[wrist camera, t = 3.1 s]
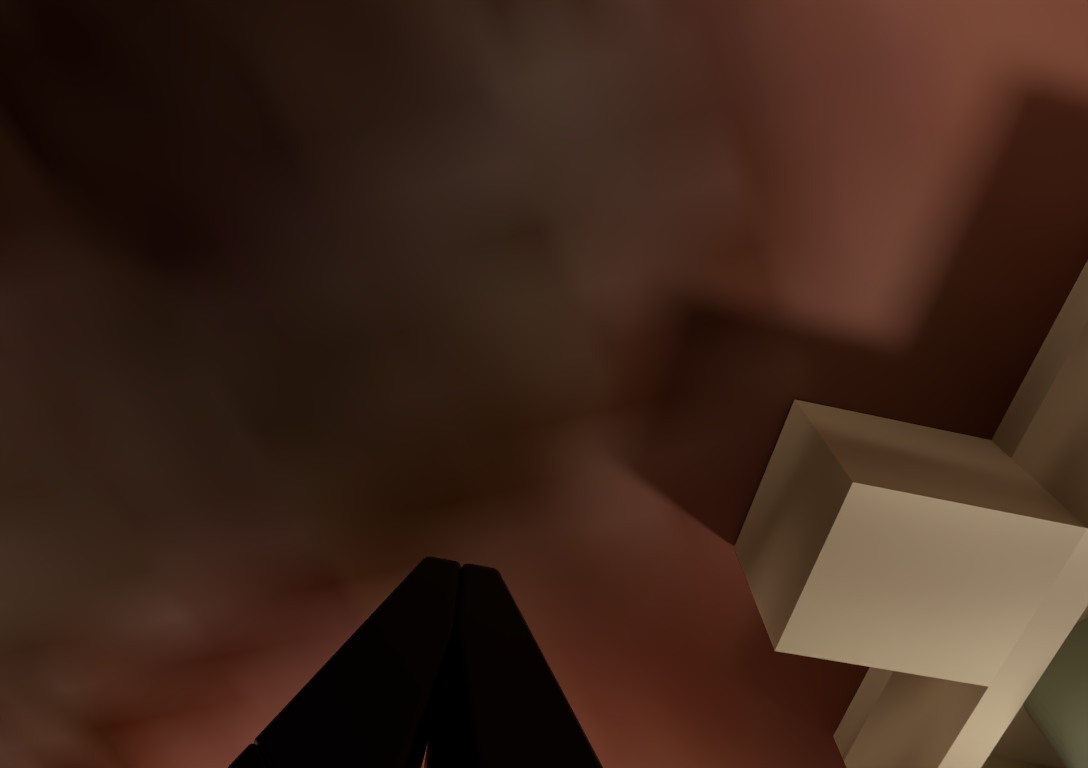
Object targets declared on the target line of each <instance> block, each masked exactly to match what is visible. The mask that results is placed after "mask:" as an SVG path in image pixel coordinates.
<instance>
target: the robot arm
mask: <svg viewBox="0 0 1088 768" xmlns="http://www.w3.org/2000/svg"><path fill="white" fill-rule="evenodd" d="M426 746H427V748H426ZM425 751H426V756H425V763H424V768H603V767H602V765H601V763H600V761H599V759H598V757H597V755H596V754H595V752H594V750H593V748H592V746H591V744H590V742H589V740H588V739H587V737H586V735H585V733H584V731H583V729H582V727H581V725H580V723H579V722H578V720H577V718H576V716H575V714H574V712H573V710H572V708H571V706H570V705H569V703H568V701H567V699H566V697H565V695H564V693H563V691H562V689H561V688H560V686H559V684H558V682H557V680H556V678H555V676H554V674H553V672H552V671H551V669H550V667H549V665H548V663H547V661H546V659H545V657H544V656H543V654H542V652H541V650H540V648H539V646H538V644H537V642H536V640H535V639H534V637H533V635H532V633H531V631H530V629H529V627H528V625H527V623H526V622H525V620H524V618H523V616H522V614H521V612H520V610H519V608H518V606H517V605H516V603H515V601H514V599H513V597H512V595H511V593H510V591H509V589H508V588H507V586H506V584H505V582H504V580H503V578H502V576H501V574H500V573H499V571H498V570H496V569H494V568H490V567H485V566H479V565H474V564H465V565H463V566H462V568H461V566H460V564H459V563H458V562H456V561H452V560H446V559H441V558H436V557H426V558H424V559H423V560H422V561H421V562H420V563H419V564H418V565H417V566H416V567H415V568H414V570H413V571H412V572H411V573H410V574H409V575H408V576H407V577H406V578H405V579H404V580H403V581H402V582H401V583H400V585H399V586H398V587H397V588H396V589H395V590H394V591H393V592H392V593H391V594H390V595H389V596H388V597H387V598H386V599H385V601H384V602H383V603H382V604H381V605H380V606H379V607H378V608H377V609H376V610H375V611H374V612H373V613H372V614H371V616H370V617H369V618H368V619H367V620H366V621H365V622H364V623H363V624H362V625H361V626H360V627H359V628H358V629H357V630H356V632H355V633H354V634H353V635H352V636H351V637H350V638H349V639H348V640H347V641H346V642H345V643H344V644H343V645H342V647H341V648H340V649H339V650H338V651H337V652H336V653H335V654H334V655H333V656H332V657H331V658H330V659H329V660H328V661H327V663H326V664H325V665H324V666H323V667H322V668H321V669H320V670H319V671H318V672H317V673H316V674H315V675H314V676H313V678H312V679H311V680H310V681H309V682H308V683H307V684H306V685H305V686H304V687H303V688H302V689H301V690H300V691H299V692H298V694H297V695H296V696H295V697H294V698H293V699H292V700H291V701H290V702H289V703H288V704H287V705H286V706H285V707H284V709H283V710H282V711H281V712H280V713H279V714H278V715H277V716H276V717H275V718H274V719H273V720H272V721H271V722H270V723H269V725H268V726H267V727H266V728H265V729H264V730H263V731H262V732H261V733H260V734H259V735H258V736H257V737H256V739H255V741H254V744H250V745H248V746H247V748H246V749H245V750H244V751H243V752H242V753H241V754H240V755H239V756H238V757H237V758H236V759H235V760H234V761H233V763H232V764H231V765H230V766H229V767H228V768H421V767H422V763H423V759H424V755H425Z"/></svg>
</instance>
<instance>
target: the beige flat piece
mask: <svg viewBox="0 0 1088 768" xmlns="http://www.w3.org/2000/svg"><path fill="white" fill-rule="evenodd" d="M734 550H735V552H736V555H737V557H738V560H739V562H740V565H741V567H742V570H743V572H744V575H745V577H746V580H747V582H748V585H749V587H750V590H751V592H752V595H753V598H754V600H755V603H756V605H757V608H758V610H759V613H760V615H761V618H762V620H763V623H764V625H765V628H766V630H767V633H768V635H769V638H770V640H771V643H772V646H773V648H774V651H778V652H784V653H790V654H796V655H802V656H808V657H814V658H820V659H826V660H832V661H838V662H844V663H850V664H856V665H862V666H868V667H870V668H869V670H868V672H867V674H866V675H865V677H864V679H863V681H862V683H861V685H860V687H859V688H858V690H857V692H856V694H855V696H854V698H853V700H852V702H851V703H850V705H849V707H848V709H847V711H846V713H845V715H844V717H843V718H842V720H841V722H840V724H839V726H838V728H837V730H836V732H835V733H834V735H833V737H834V740H835V742H836V744H837V747H838V749H839V751H840V754H841V756H842V758H843V761H844V763H845V765H846V768H1066V767H1065V765H1064V764H1063V763H1062V761H1061V760H1060V758H1059V757H1058V756H1057V754H1056V753H1055V751H1054V750H1053V749H1052V747H1051V746H1050V744H1049V743H1048V742H1047V740H1046V739H1045V738H1044V736H1043V735H1042V733H1041V732H1040V731H1039V729H1038V728H1037V726H1036V725H1035V724H1034V722H1033V721H1032V720H1031V718H1030V717H1029V715H1028V714H1027V712H1026V710H1025V708H1024V705H1023V703H1024V702H1025V700H1026V698H1027V697H1028V695H1029V694H1030V692H1031V691H1032V689H1033V688H1034V686H1035V685H1036V683H1037V682H1038V680H1039V679H1040V677H1041V676H1042V674H1043V673H1044V671H1045V670H1046V668H1047V667H1048V665H1049V664H1050V662H1051V660H1052V659H1053V657H1054V656H1055V654H1056V653H1057V651H1058V650H1059V648H1060V647H1061V645H1062V644H1063V642H1064V641H1065V639H1066V638H1067V636H1068V635H1069V633H1070V632H1071V630H1072V629H1073V627H1074V626H1075V625H1077V624H1079V623H1081V622H1083V621H1085V620H1087V619H1088V260H1087V262H1086V264H1085V266H1084V268H1083V269H1082V271H1081V273H1080V275H1079V277H1078V279H1077V281H1076V283H1075V284H1074V286H1073V288H1072V290H1071V292H1070V294H1069V296H1068V297H1067V299H1066V301H1065V303H1064V305H1063V307H1062V309H1061V311H1060V312H1059V314H1058V316H1057V318H1056V320H1055V322H1054V324H1053V326H1052V327H1051V329H1050V331H1049V333H1048V335H1047V337H1046V339H1045V341H1044V342H1043V344H1042V346H1041V348H1040V350H1039V352H1038V354H1037V355H1036V357H1035V359H1034V361H1033V363H1032V365H1031V367H1030V369H1029V370H1028V372H1027V374H1026V376H1025V378H1024V380H1023V382H1022V384H1021V385H1020V387H1019V389H1018V391H1017V393H1016V395H1015V397H1014V399H1013V400H1012V402H1011V404H1010V406H1009V408H1008V410H1007V412H1006V413H1005V415H1004V417H1003V419H1002V421H1001V423H1000V425H999V427H998V428H997V430H996V432H995V434H994V436H993V438H992V440H988V439H983V438H979V437H974V436H969V435H964V434H959V433H955V432H950V431H945V430H940V429H935V428H931V427H926V426H921V425H916V424H911V423H906V422H902V421H897V420H892V419H887V418H882V417H878V416H873V415H868V414H863V413H858V412H854V411H849V410H844V409H839V408H834V407H829V406H825V405H820V404H815V403H810V402H805V401H801V400H796V399H794V402H793V404H792V407H791V409H790V412H789V414H788V416H787V419H786V421H785V424H784V426H783V429H782V431H781V434H780V436H779V439H778V441H777V443H776V446H775V448H774V451H773V453H772V456H771V458H770V461H769V463H768V466H767V468H766V470H765V473H764V475H763V478H762V480H761V483H760V485H759V488H758V490H757V493H756V495H755V497H754V500H753V502H752V505H751V507H750V510H749V512H748V515H747V517H746V520H745V522H744V524H743V527H742V529H741V532H740V534H739V537H738V539H737V542H736V544H735V547H734Z"/></svg>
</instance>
